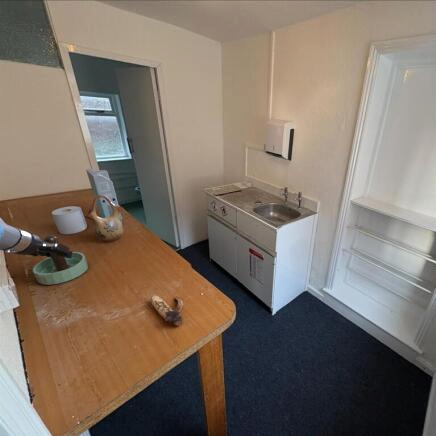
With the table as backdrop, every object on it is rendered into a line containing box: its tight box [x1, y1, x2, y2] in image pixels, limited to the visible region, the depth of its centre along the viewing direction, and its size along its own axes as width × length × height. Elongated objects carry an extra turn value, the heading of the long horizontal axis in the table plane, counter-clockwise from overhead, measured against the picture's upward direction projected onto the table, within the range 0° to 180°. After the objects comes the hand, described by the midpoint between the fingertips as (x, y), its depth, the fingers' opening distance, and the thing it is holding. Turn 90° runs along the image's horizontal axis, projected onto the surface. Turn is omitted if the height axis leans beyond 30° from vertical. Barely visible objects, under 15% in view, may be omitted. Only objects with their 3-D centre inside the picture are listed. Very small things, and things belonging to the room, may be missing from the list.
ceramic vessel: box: [83, 195, 125, 243], centre depth 118 cm, size 16×9×25 cm, turn 140°
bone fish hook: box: [150, 294, 184, 327], centre depth 83 cm, size 9×5×18 cm
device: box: [85, 168, 123, 223], centre depth 137 cm, size 16×8×30 cm, turn 48°
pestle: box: [42, 234, 71, 272], centre depth 94 cm, size 5×5×18 cm
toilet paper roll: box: [51, 206, 88, 235], centre depth 127 cm, size 12×12×12 cm
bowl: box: [32, 251, 89, 286], centre depth 96 cm, size 16×16×6 cm
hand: (64, 255), depth 98 cm, fingers closed on pestle, 4 cm apart
